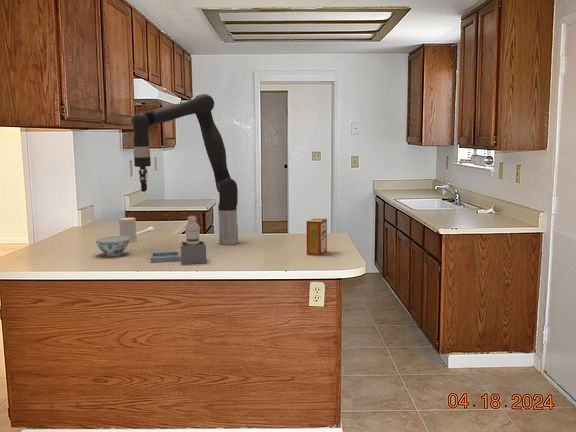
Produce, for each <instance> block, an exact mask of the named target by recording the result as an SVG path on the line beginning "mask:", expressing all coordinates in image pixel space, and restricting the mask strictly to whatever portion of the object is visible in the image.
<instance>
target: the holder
mask: <svg viewBox="0 0 576 432" xmlns="http://www.w3.org/2000/svg"><path fill="white" fill-rule="evenodd" d="M179 243H180V247H179V248H180V262H181V265H196V264H207V244H206V241H205V240H199V245H188V246H187V241H179Z"/></svg>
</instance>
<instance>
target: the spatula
mask: <svg viewBox="0 0 576 432" xmlns="http://www.w3.org/2000/svg"><path fill="white" fill-rule="evenodd" d="M154 230H155V228H154V227H153V226H148V227H147V228H145V229H143V230H140V231H136V237H137V236H139V235H142V234H145V233H149V232H153V231H154Z"/></svg>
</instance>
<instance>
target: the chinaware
mask: <svg viewBox="0 0 576 432" xmlns="http://www.w3.org/2000/svg"><path fill="white" fill-rule="evenodd" d="M129 239H130V238H129V237H127V236H120V235H108V236H102V237H97V238H96V239H95V242H96V245H97V247H98V248H99V250H100V251H101V252H102V253H103V254H105V256H106V257H119V256H121V255H122V253H123V252H124V251H125V250H126V249H127V248H128V246H129V244H130V243H129Z"/></svg>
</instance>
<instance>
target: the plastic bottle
mask: <svg viewBox="0 0 576 432" xmlns="http://www.w3.org/2000/svg"><path fill="white" fill-rule="evenodd" d="M197 220H198V219H197V215H188V216H187V223H186V224H185V227H184V232H185V237H186V238H185V239H186V242H187V246H188V245H199V241H200V235H201V234H200V233H201V227H200V225H199V223H198V222H197Z"/></svg>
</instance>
